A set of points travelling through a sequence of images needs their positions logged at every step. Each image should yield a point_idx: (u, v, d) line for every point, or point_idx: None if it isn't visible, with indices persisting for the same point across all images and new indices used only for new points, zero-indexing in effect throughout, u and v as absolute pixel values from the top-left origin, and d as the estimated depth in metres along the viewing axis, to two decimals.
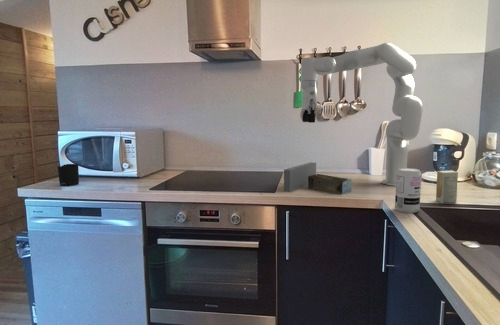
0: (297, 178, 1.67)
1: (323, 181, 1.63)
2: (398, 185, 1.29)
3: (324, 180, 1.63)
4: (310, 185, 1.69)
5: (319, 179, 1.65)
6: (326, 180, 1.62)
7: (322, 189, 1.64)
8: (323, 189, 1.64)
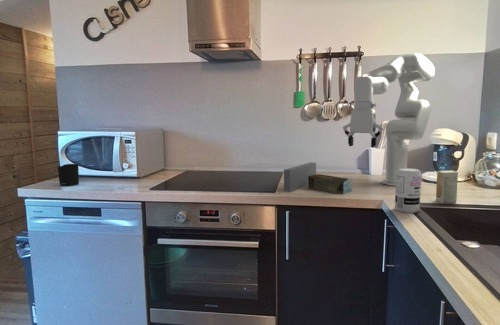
0: (297, 178, 1.67)
1: (324, 181, 1.63)
2: (398, 185, 1.29)
3: (325, 180, 1.63)
4: (310, 185, 1.69)
5: (319, 179, 1.65)
6: (327, 180, 1.62)
7: (322, 189, 1.64)
8: (324, 189, 1.64)
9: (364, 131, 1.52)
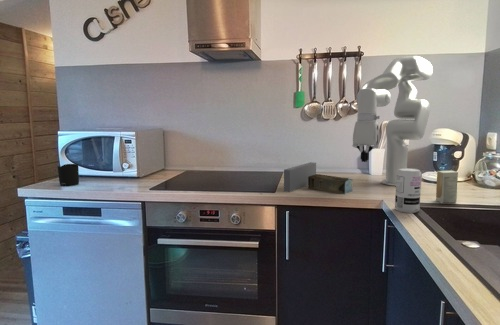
0: (297, 178, 1.67)
1: (324, 181, 1.63)
2: (398, 185, 1.29)
3: (325, 180, 1.63)
4: (310, 185, 1.68)
5: (320, 179, 1.64)
6: (327, 180, 1.62)
7: (323, 189, 1.64)
8: (324, 189, 1.64)
9: (367, 143, 1.51)
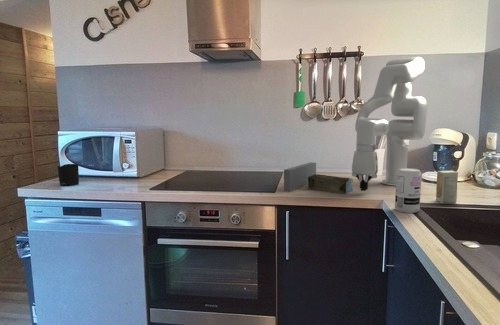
0: (297, 178, 1.67)
1: (325, 181, 1.63)
2: (398, 185, 1.29)
3: (326, 180, 1.63)
4: (310, 186, 1.68)
5: (320, 179, 1.64)
6: (328, 180, 1.62)
7: (324, 189, 1.64)
8: (325, 189, 1.64)
9: (366, 173, 1.53)
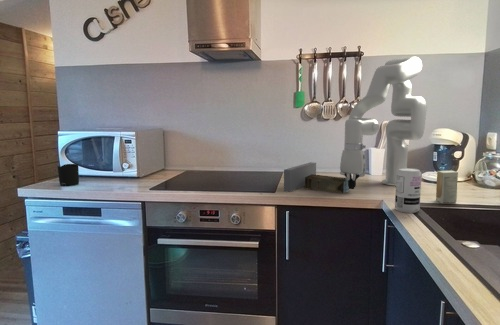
0: (297, 178, 1.67)
1: (322, 181, 1.63)
2: (398, 185, 1.29)
3: (323, 180, 1.63)
4: (307, 186, 1.68)
5: (318, 179, 1.65)
6: (326, 180, 1.63)
7: (321, 189, 1.64)
8: (322, 189, 1.64)
9: (354, 172, 1.56)
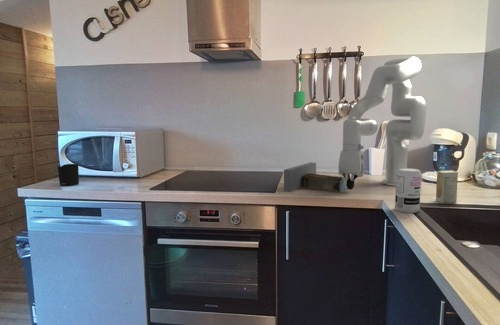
0: (297, 178, 1.67)
1: (319, 180, 1.65)
2: (398, 185, 1.29)
3: (320, 179, 1.65)
4: (304, 185, 1.70)
5: (314, 178, 1.66)
6: (322, 179, 1.64)
7: (318, 188, 1.66)
8: (319, 188, 1.66)
9: (352, 172, 1.57)
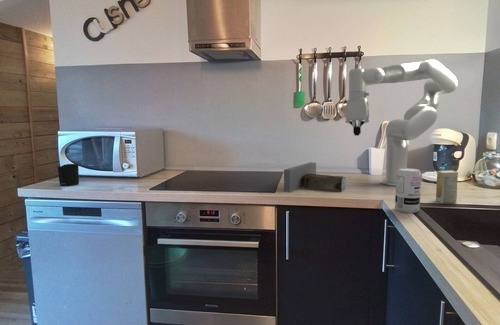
0: (297, 178, 1.67)
1: (320, 180, 1.65)
2: (398, 185, 1.29)
3: (321, 179, 1.65)
4: (305, 185, 1.69)
5: (315, 178, 1.66)
6: (323, 179, 1.64)
7: (319, 188, 1.66)
8: (320, 188, 1.66)
9: (359, 118, 1.67)
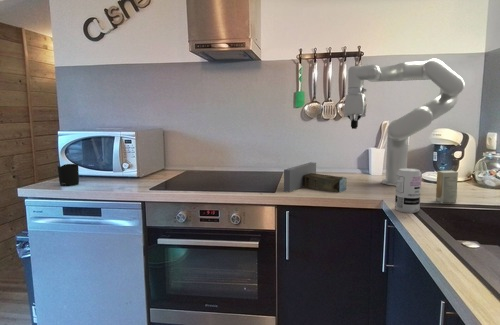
0: (297, 178, 1.67)
1: (319, 180, 1.66)
2: (398, 185, 1.29)
3: (320, 179, 1.66)
4: (305, 184, 1.71)
5: (315, 178, 1.67)
6: (322, 179, 1.65)
7: (318, 188, 1.67)
8: (319, 188, 1.67)
9: (356, 113, 1.79)
